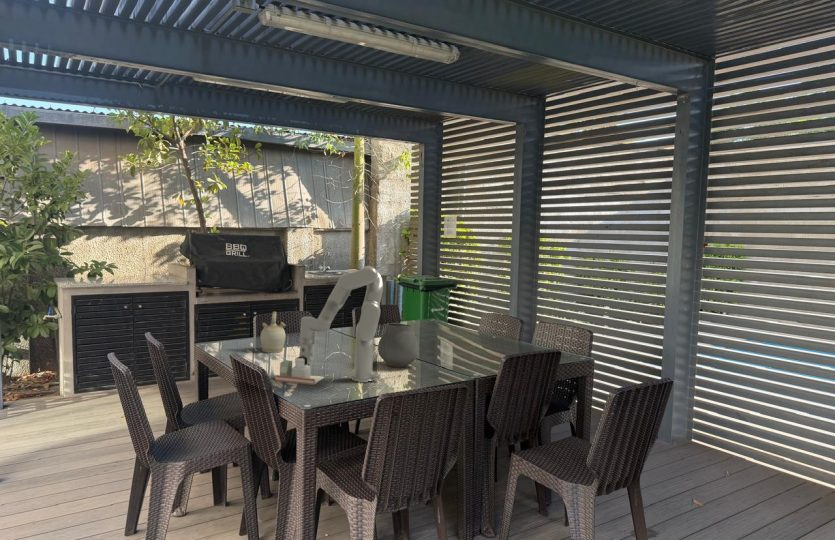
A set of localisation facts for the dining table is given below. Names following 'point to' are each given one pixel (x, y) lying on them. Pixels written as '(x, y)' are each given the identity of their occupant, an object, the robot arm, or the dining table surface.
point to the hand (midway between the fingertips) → (305, 375)
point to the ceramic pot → (398, 345)
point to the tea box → (286, 368)
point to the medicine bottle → (301, 368)
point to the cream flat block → (299, 379)
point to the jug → (273, 336)
